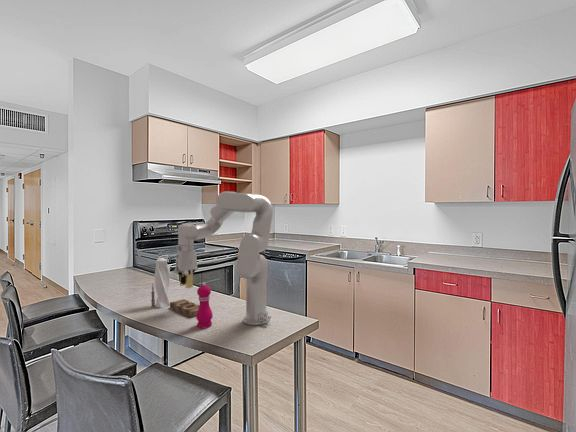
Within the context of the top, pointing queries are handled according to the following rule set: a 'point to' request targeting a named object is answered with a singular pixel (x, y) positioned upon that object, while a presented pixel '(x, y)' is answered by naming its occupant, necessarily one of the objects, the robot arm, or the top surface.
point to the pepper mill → (204, 307)
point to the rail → (185, 307)
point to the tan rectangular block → (188, 280)
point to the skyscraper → (161, 283)
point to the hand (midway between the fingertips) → (186, 282)
